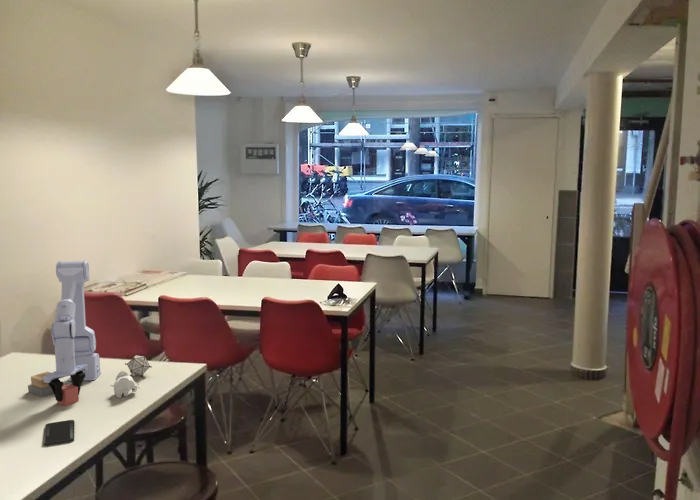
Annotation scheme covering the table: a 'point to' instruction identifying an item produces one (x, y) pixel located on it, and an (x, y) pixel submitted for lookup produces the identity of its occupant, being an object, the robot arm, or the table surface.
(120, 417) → the table surface
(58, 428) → the phone
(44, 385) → the oak tile
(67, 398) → the red block
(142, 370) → the grey geodesic polyhedron
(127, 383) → the elephant figurine
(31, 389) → the charcoal base tile
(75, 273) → the robot arm
